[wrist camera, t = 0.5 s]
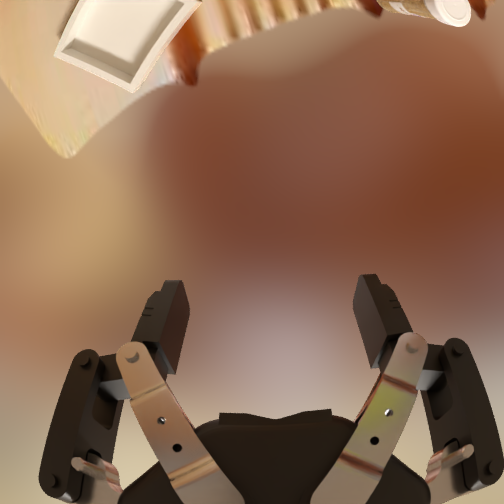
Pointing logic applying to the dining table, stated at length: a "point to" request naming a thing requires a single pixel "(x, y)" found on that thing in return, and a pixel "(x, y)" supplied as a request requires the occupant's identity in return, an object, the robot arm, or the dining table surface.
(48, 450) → the robot arm
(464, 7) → the sprinkles bottle
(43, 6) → the dining table surface
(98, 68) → the tray
